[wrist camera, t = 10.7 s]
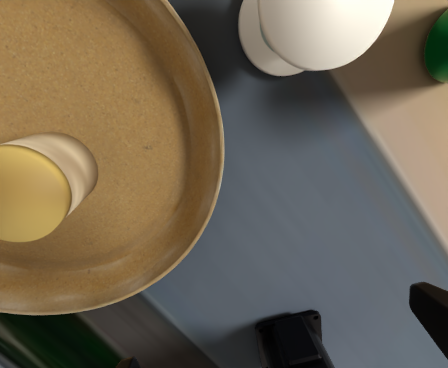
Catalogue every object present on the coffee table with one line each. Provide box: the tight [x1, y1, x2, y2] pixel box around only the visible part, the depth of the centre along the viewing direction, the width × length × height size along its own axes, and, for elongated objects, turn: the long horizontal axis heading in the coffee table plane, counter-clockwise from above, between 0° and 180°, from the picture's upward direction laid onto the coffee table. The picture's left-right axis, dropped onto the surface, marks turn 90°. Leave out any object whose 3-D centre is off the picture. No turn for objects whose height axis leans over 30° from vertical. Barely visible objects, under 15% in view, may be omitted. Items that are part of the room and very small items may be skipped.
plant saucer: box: [0, 0, 224, 315], centre depth 16 cm, size 24×24×3 cm
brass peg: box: [0, 131, 98, 242], centre depth 13 cm, size 4×4×4 cm
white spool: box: [238, 0, 394, 76], centre depth 14 cm, size 6×6×6 cm
